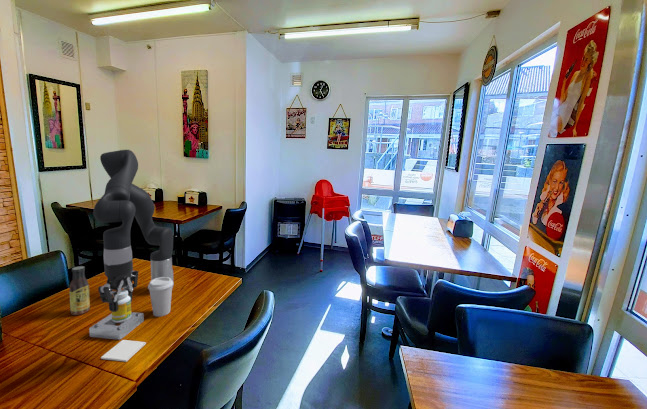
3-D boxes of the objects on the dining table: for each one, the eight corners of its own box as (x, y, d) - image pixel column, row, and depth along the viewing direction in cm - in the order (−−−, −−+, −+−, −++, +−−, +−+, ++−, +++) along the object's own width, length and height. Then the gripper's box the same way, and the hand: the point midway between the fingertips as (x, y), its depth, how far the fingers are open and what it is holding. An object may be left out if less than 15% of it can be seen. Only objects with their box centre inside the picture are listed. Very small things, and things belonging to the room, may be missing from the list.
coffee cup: (179, 310, 119) (178, 279, 117) (158, 321, 111) (157, 287, 108) (165, 304, 123) (164, 274, 121) (144, 314, 115) (142, 282, 112)
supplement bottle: (114, 315, 92) (113, 289, 91) (132, 312, 95) (131, 287, 93) (110, 324, 88) (108, 297, 86) (129, 320, 90) (128, 294, 89)
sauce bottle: (78, 317, 110) (74, 272, 107) (66, 314, 111) (62, 270, 108) (94, 308, 117) (91, 266, 113) (83, 306, 118) (79, 264, 115)
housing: (116, 318, 111) (116, 309, 110) (143, 321, 110) (143, 312, 110) (89, 336, 99) (89, 327, 99) (120, 339, 99) (119, 330, 98)
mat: (122, 341, 98) (122, 339, 98) (145, 343, 97) (145, 342, 97) (101, 358, 89) (100, 357, 89) (126, 361, 89) (126, 360, 88)
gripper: (125, 251, 95) (127, 295, 98) (87, 266, 81) (91, 317, 84) (145, 253, 95) (147, 296, 97) (110, 269, 81) (114, 319, 83)
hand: (121, 306), depth 91 cm, fingers closed on supplement bottle, 5 cm apart
